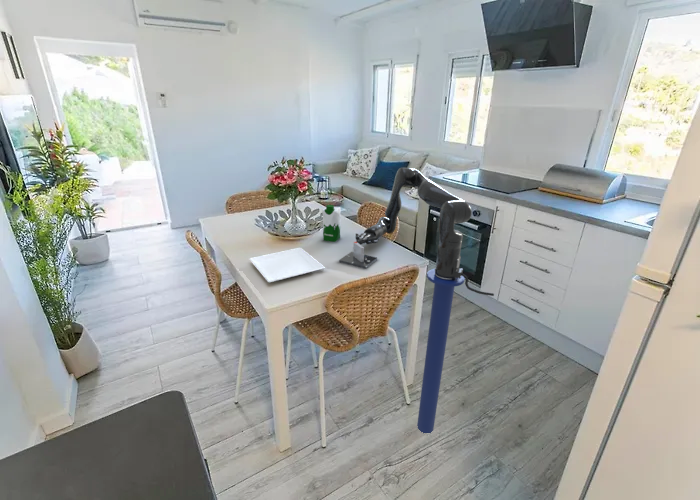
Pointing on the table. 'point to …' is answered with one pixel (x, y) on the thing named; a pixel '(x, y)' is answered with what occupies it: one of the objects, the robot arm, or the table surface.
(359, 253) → the grey rectangular block
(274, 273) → the plate
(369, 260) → the panel
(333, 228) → the milk carton
